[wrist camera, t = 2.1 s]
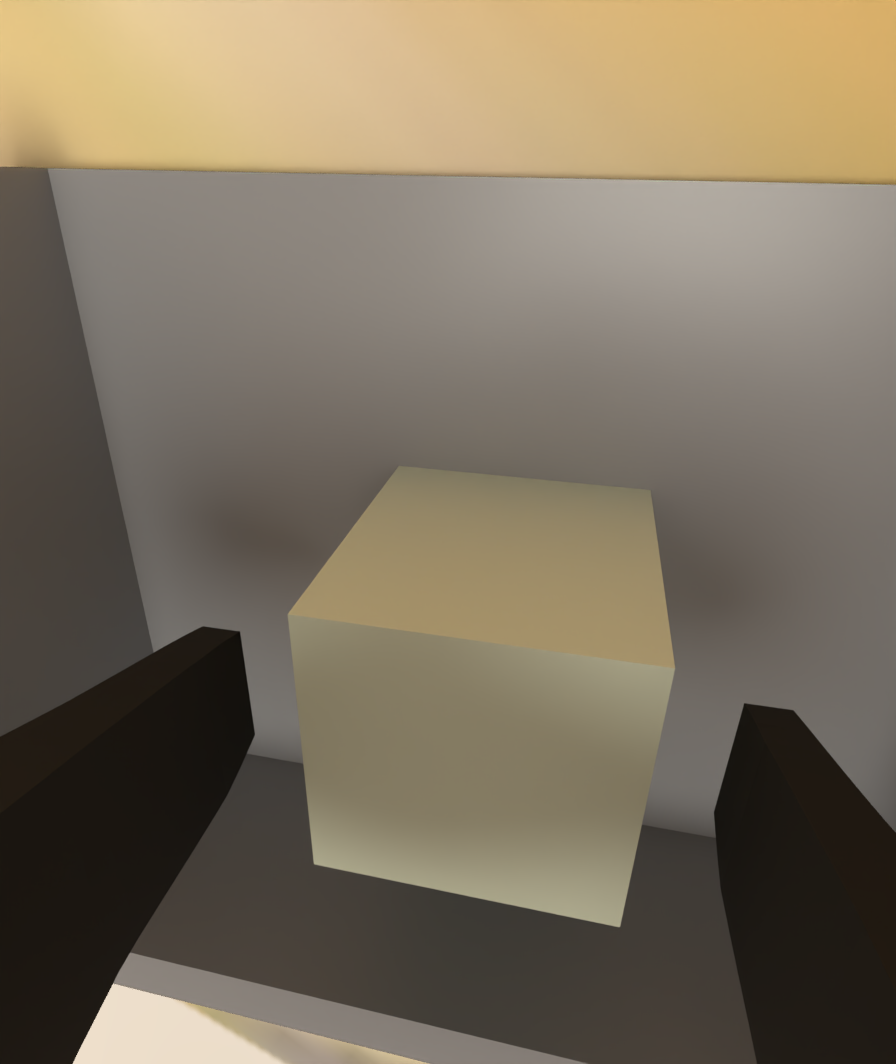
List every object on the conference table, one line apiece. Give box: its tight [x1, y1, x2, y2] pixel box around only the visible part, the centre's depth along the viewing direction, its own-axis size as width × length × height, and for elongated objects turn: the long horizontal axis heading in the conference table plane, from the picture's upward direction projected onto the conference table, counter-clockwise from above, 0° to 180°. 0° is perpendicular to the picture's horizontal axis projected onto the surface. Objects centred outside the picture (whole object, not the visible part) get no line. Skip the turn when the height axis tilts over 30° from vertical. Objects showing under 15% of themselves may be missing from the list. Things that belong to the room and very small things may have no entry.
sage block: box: [288, 466, 675, 927], centre depth 11 cm, size 4×4×5 cm
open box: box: [0, 167, 896, 1064], centre depth 11 cm, size 19×14×6 cm
